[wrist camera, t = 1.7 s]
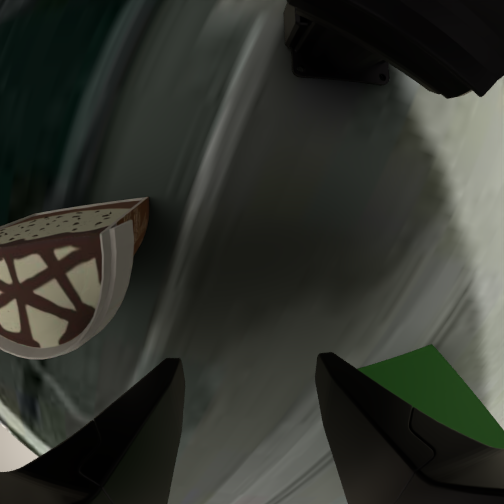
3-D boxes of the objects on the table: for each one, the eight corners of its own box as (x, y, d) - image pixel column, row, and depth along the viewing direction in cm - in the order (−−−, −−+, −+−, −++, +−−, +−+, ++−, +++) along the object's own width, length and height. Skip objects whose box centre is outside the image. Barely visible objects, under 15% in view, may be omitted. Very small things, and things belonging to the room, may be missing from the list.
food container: (38, 291, 22) (-35, 357, 12) (21, 216, 20) (-71, 256, 10) (182, 284, 22) (148, 376, 12) (170, 194, 20) (114, 231, 10)
